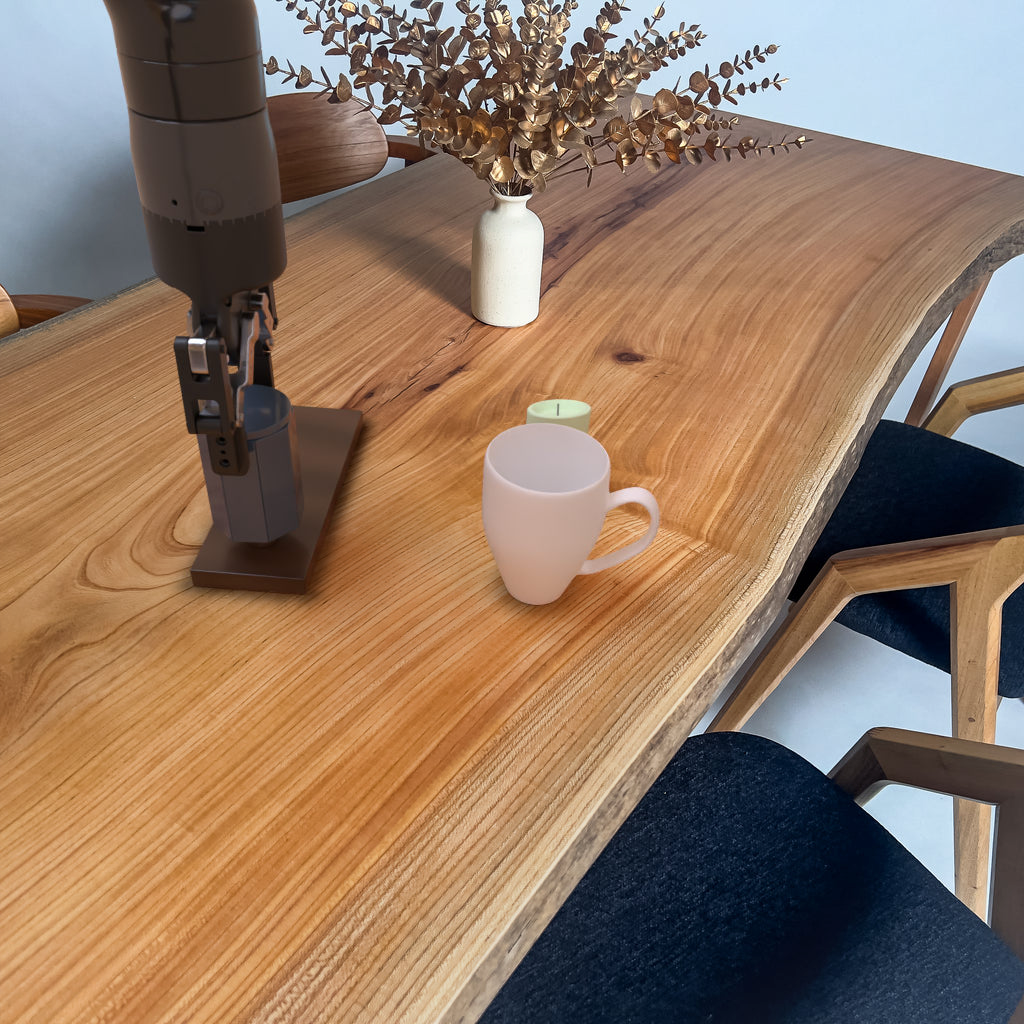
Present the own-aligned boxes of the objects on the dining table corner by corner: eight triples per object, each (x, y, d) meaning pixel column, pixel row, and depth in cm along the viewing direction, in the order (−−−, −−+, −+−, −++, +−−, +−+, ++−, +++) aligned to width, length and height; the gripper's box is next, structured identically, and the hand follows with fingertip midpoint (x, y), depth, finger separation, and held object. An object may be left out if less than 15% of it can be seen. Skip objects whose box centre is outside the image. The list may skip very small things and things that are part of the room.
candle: (512, 472, 77) (518, 388, 71) (567, 463, 78) (576, 380, 73) (533, 507, 73) (542, 421, 68) (590, 497, 74) (602, 412, 69)
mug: (464, 611, 63) (469, 480, 56) (494, 538, 70) (502, 412, 62) (634, 648, 61) (661, 518, 54) (648, 569, 68) (675, 443, 61)
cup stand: (306, 595, 64) (290, 455, 56) (192, 586, 64) (161, 444, 56) (363, 424, 81) (356, 300, 73) (274, 417, 81) (258, 292, 73)
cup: (246, 554, 61) (229, 444, 56) (199, 512, 64) (177, 404, 59) (319, 517, 65) (309, 410, 59) (271, 479, 68) (257, 374, 62)
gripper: (177, 147, 56) (215, 378, 66) (97, 235, 44) (157, 498, 54) (300, 154, 56) (319, 383, 66) (252, 243, 45) (284, 502, 55)
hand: (246, 434), depth 60 cm, fingers open, 8 cm apart
